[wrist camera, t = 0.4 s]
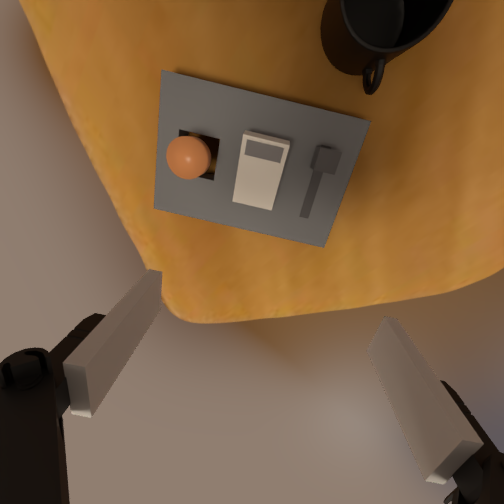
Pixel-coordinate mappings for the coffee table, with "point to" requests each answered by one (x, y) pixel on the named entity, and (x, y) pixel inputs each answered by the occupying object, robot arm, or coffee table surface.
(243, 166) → the rocker
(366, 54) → the mug
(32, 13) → the coffee table surface
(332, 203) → the panel
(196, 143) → the button
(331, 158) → the slider
